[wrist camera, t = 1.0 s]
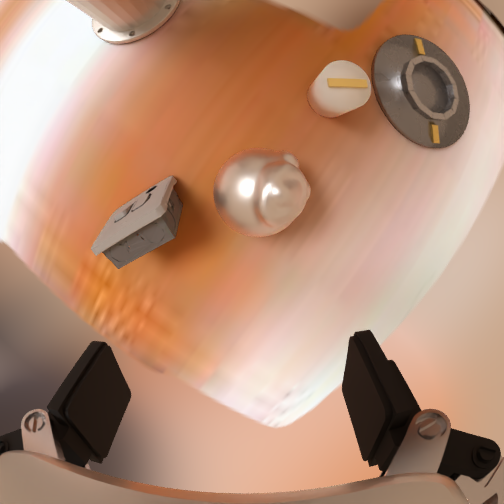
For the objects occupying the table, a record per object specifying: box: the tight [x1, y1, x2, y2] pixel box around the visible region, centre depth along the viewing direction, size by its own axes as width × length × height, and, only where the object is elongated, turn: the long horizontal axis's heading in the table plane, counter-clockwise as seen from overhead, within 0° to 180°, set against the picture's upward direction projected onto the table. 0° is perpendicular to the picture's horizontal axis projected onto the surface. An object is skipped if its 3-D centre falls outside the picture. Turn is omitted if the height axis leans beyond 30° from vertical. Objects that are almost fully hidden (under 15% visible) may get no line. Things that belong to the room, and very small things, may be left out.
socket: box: [372, 35, 470, 148], centre depth 25 cm, size 16×16×2 cm
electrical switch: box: [91, 176, 183, 269], centre depth 29 cm, size 9×5×9 cm, turn 116°
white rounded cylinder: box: [307, 60, 371, 118], centre depth 24 cm, size 5×5×8 cm
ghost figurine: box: [213, 148, 311, 237], centre depth 27 cm, size 9×10×10 cm
